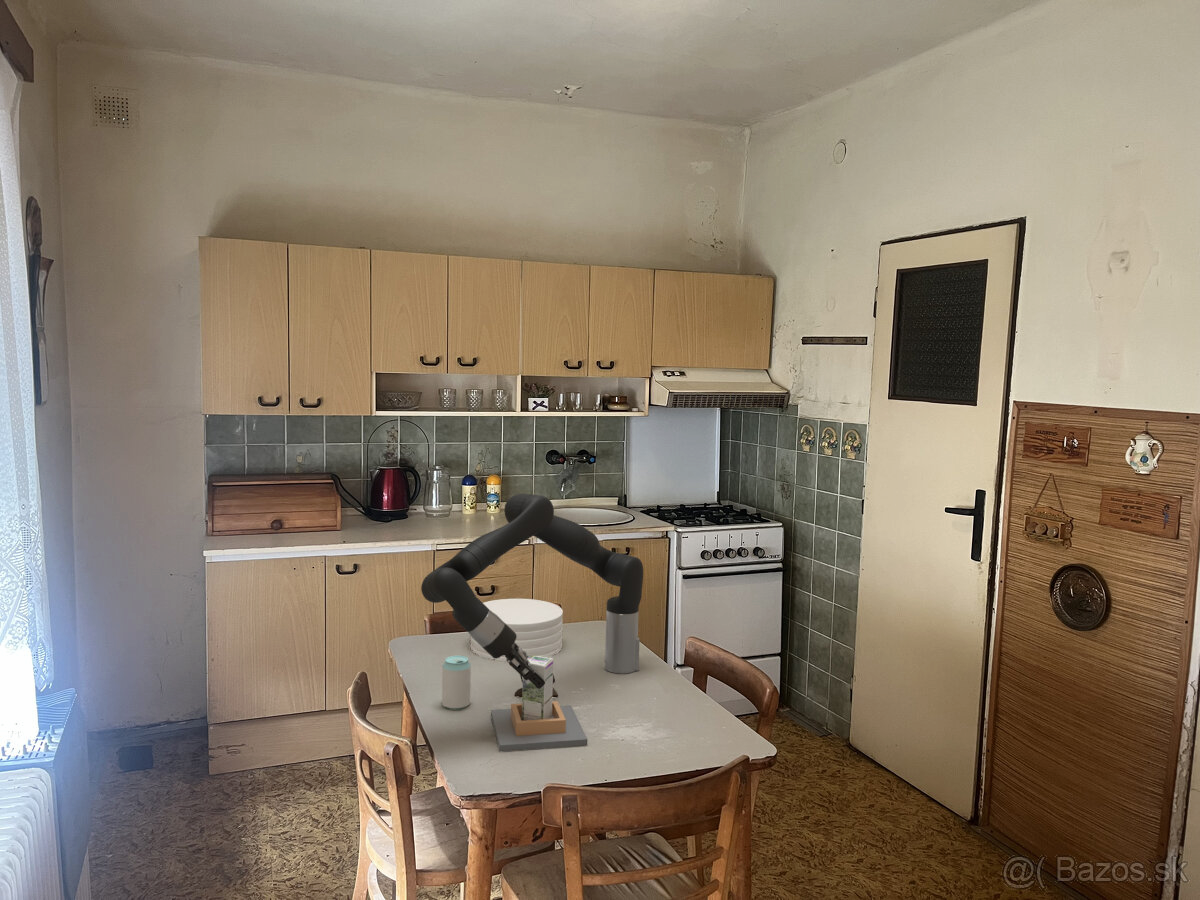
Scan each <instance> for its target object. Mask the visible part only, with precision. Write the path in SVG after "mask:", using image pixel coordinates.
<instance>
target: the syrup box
mask: <svg viewBox="0 0 1200 900" xmlns="http://www.w3.org/2000/svg"><path fill="white" fill-rule="evenodd" d="M527 659H528V661H529V662H530V666H531V667H532V669H534V670H535V672H536V673H537V674H538V675H539V676H540V677H541V678H542V679H543V680H544V681H545V684H544V685H543V686H542V687H541V688H540V689H538V688H537V687H536V686H535V685H534V684H533V683H532V682H531V681H530V680H527V681H526V680H525V679H524V678H523V677H522V679H523V683H522V688H523V689H522V698H521V699H522V701H521V703H522V721H525V720H540V719H550V718H551V717H552V701H553V698H552V691H553V688H554V687H553V686H554V684H553V675H554V665H555V664H554V658H553V657H549V658H548V657H541V656H534V655H532V656H530V657H528V658H527ZM524 663H525V662H524ZM528 671H529V670H527V669H526V668H525V669H524V672H525V674H526V673H527V672H528Z"/></svg>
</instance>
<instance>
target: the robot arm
mask: <svg viewBox="0 0 1200 900" xmlns="http://www.w3.org/2000/svg"><path fill="white" fill-rule="evenodd" d="M504 517H505V519H506V521H507V522H508V523H506V524H504V525H502V526H501V527H499V528H497V529H494V530H492V531H490V532H487V533H485V534H482V535H480V536H479V537H477V538H476V539H475V538H474V539H473V541H471V542H469V543H468V544H467V545H465V546H464V547H463V548H462V549H461V550H460V551H459V552H457V553H456V554H455V555H454V556H453V557H452V558H451V559H449V560H448V561H446V562H444V563H443V564H440V566H438V567H437V568H435V569H434V570H432V571H431V572H429V573H428V574H427V575H426V576H425V577H424V579H423V580H422V583H421V587H420V589H421V594H422V596H423V597H424V599H425V600H427V601H428V602H430V603H437V604H439V603H443V602H445V601H446V602H447V603H448V605H449V606H450V607H451V608H452V613H451V615H452V617H453V619H454V620H455V621H456V622H457V623H458V625H460V626H461V627H462V628H463V629H464V630H465V631H466V632H467V634H469V635H470V637H471V636H472V638H473V639H474V640H475V641H476V642H477V643H478V644H479V645H480V646H481V647H482V648H483V649H485V650H486V651H487V652H488V653H489V654H490V655H491V656H492V657H493V658H499V657H501V656H503V655H505V657H506V659H507V660H506V661H507V663H508V664H509V666H510V667H512V668H513V670H515V671H516V672H517V673H518V674H519V676H520V675H521V676H522V679H523V678H524V679H525V680H526V681H527V680H530V681H531V682H532V683H533V684H534V685H535V686H536V687H537V688H538V689H540V688H541V687H542V686H543V685H544V684H545V681H544V680H543V679H542V678H541V677H540V676H539V675H538V674H537V673H536V672H535V670H534V669H532V667H531V666H530V662H529V661H528V659H527V658H528V657H529V656H527V654H526V652H525V651H524V650H522V649H521V648H520V646H519V645H517V644H516V643H515V641H516V637H517V635H516V633H515V632H514V631H513V630H512V629H511V628H510V627H509V626H508V625H507V624H506V623H504V622H503V621H502V620H501V619H500V618H499V617H498V616H497V615H496V614H495V613H493V612H492V611H491V610H489V609H488V608H487V607H486V606H485V605H484V604H483V603H484V602H482V601H481V600H480V599H479V598H478V597H477V596H476V594H475V592H474V590H473V589H472V588H471V585H469V583H468V581H470V580H473V579H475V578H476V577H478V576H479V575H480V574H481V573H483V571H484V570H486V569H487V568H488V567H489V566H491V565H492V564H493V563H494V562H495V561H496V560H498V559H499V558H501V557H502V556H503V555H505V554H506V553H508V552H509V551H510V550H513V549H515V548H516V547H517V546H519V545H520V544H522V543H524V542H525V541H527V540H529V539H530V538H533V537H534V538H537V539H539V540H540V541H542V542H543V543H545V544H546V545H547V546H549V547H550V548H552V549H554V550H555V551H557V552H558V553H560V554H562V556H565V557H566V558H568V559H570V560H571V561H573V562H575V563H577V564H579V565H581V566H583V567H584V568H587V569H589V570H591V571H592V572H594V573H595V574H596V575H598V576H599V578H601V579H602V580H603V581H605V582H606V583H608V584H610V585H611V586H616V587H619V593H618V596H617V595H616V596H612V597H609V598H608V599H607V600H606V611H605V612H606V613H605V614H606V617H605V642H604V643H605V645H604V646H605V649H604V669H605V670H606V671H608V672H609V673H613V674H614V673H615V674H630V673H633V672H638V671H639V669H640V667H639V666H640V665H639V664H640V644H641V643H640V637H639V633H638V632H639V609H640V604H641V601H642V595H643V583H644V565H643V563H642V560H641V559H640V558H638V557H637V556H632V555H628V554H624V553H619V552H614V551H613V550H609V549H608V548H605V547H603V546H602V545H601V544H600V541H599V538H598V537H597V536H596V535H595V534H594V533H593V532H591V531H590V530H589V529H587V528H586V527H584V526H583V525H581V524H579V523H577V522H575V521H572V520H570V519H566V518H563V517H561V516H560V517H559V516H557V515H555V509H554V505H553V503H552V501H551V500H550V499H549V498H548V497H546V496H544V495H540V494H534V493H533V494H530V493H518V494H514V495H512V496H510V498H509V499H507V501H506V503H505V505H504ZM524 662H525V663H524ZM525 668H526V669H527V670H529V671H528V672H527V673H526V674H525V672H524V669H525Z"/></svg>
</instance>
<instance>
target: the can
mask: <svg viewBox="0 0 1200 900" xmlns="http://www.w3.org/2000/svg"><path fill="white" fill-rule="evenodd" d="M444 660H445V661H444V662H443V664H442V674H441V675H442V680H441V681H442V682H441V683H442V684H441V689H442V690H441V694H442V695H441V705H443V706H444V707H445V708H446V707H447V708H446V709H448V708H450V709H449V710H454V709H456V710H461V709H460V708H462V709H465V708H467V706H469V705H470V704H471V691H472V690H471V686H472V685H471V679H472V678H471V677H472V675H471V674H472V664H471V662H469V658H468V657H467V656H464V655H451V656H450V655H449V656H447V657H446V658H445V659H444ZM464 707H465V708H464Z"/></svg>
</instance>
